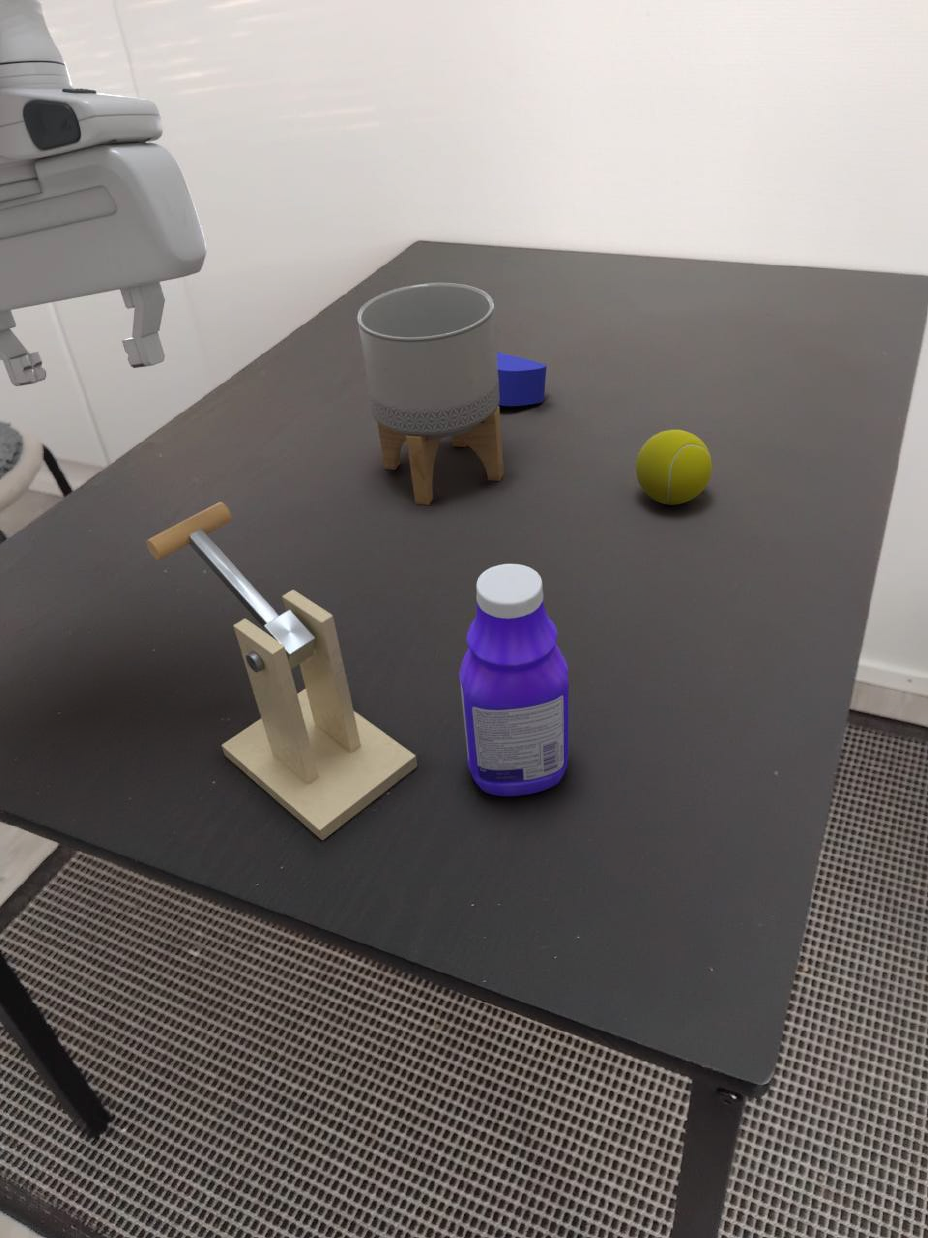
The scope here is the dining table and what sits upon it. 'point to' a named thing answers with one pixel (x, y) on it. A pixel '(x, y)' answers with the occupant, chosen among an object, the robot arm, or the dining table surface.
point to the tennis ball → (673, 467)
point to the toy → (520, 380)
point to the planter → (433, 376)
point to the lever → (234, 579)
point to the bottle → (514, 687)
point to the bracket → (311, 729)
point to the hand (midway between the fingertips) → (88, 374)
